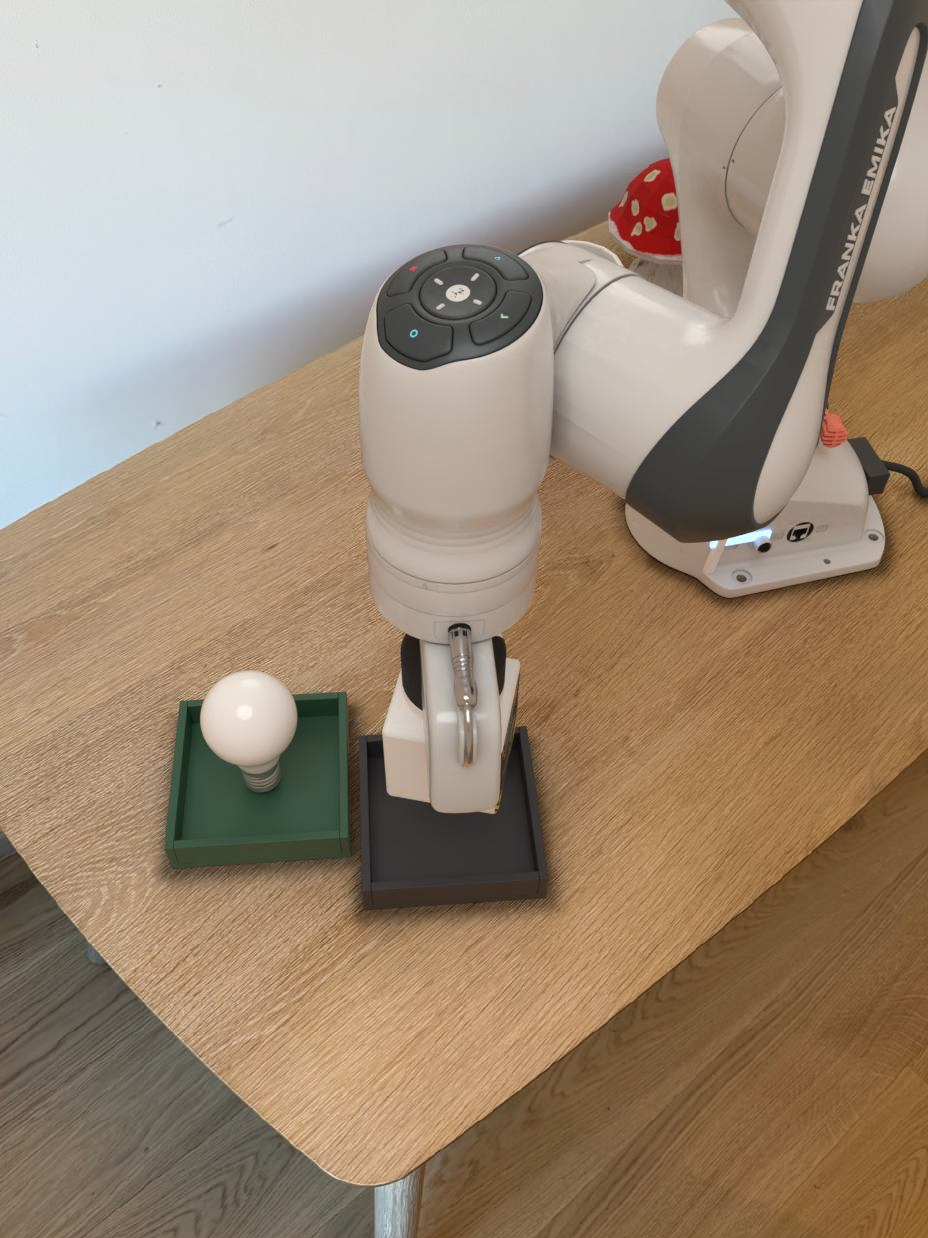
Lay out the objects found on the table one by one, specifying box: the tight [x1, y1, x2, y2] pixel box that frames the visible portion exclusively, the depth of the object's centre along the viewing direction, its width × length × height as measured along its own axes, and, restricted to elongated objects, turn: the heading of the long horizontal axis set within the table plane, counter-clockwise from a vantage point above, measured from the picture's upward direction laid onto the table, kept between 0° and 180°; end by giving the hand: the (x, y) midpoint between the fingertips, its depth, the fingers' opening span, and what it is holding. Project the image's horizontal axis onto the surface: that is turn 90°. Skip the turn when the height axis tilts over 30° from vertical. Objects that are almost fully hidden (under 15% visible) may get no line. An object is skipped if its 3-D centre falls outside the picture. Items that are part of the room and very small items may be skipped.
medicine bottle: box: [381, 633, 522, 814], centre depth 66 cm, size 7×7×12 cm
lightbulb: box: [200, 669, 298, 792], centre depth 75 cm, size 6×6×11 cm
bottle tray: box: [357, 725, 549, 911], centre depth 76 cm, size 12×12×3 cm
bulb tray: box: [163, 691, 352, 869], centre depth 78 cm, size 12×12×3 cm
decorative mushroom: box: [607, 157, 683, 298], centre depth 115 cm, size 14×14×15 cm
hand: (449, 715), depth 67 cm, fingers closed on medicine bottle, 8 cm apart
